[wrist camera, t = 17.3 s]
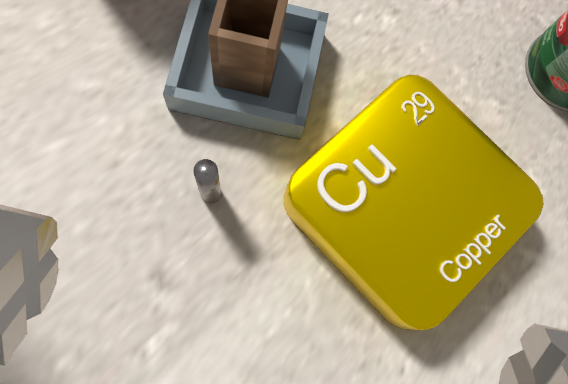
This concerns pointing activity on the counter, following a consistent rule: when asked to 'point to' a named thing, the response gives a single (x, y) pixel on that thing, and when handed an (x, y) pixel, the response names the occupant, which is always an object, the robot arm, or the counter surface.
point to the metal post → (207, 180)
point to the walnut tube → (246, 44)
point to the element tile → (412, 203)
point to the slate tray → (239, 105)
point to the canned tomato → (550, 64)
